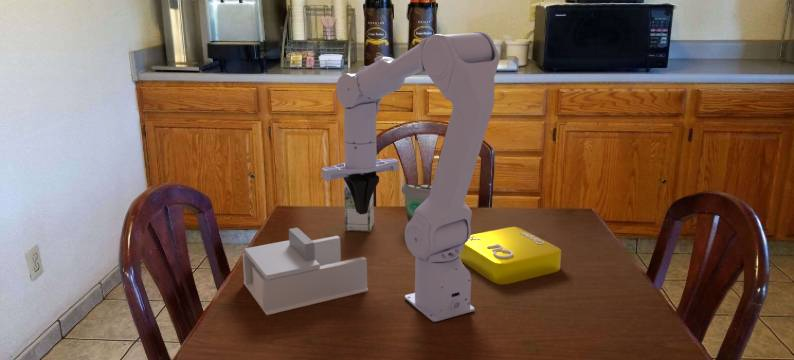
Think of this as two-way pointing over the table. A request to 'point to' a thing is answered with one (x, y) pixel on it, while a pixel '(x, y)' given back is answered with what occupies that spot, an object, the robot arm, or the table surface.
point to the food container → (414, 196)
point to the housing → (308, 280)
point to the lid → (284, 256)
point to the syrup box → (357, 214)
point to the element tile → (510, 255)
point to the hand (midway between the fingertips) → (361, 212)
